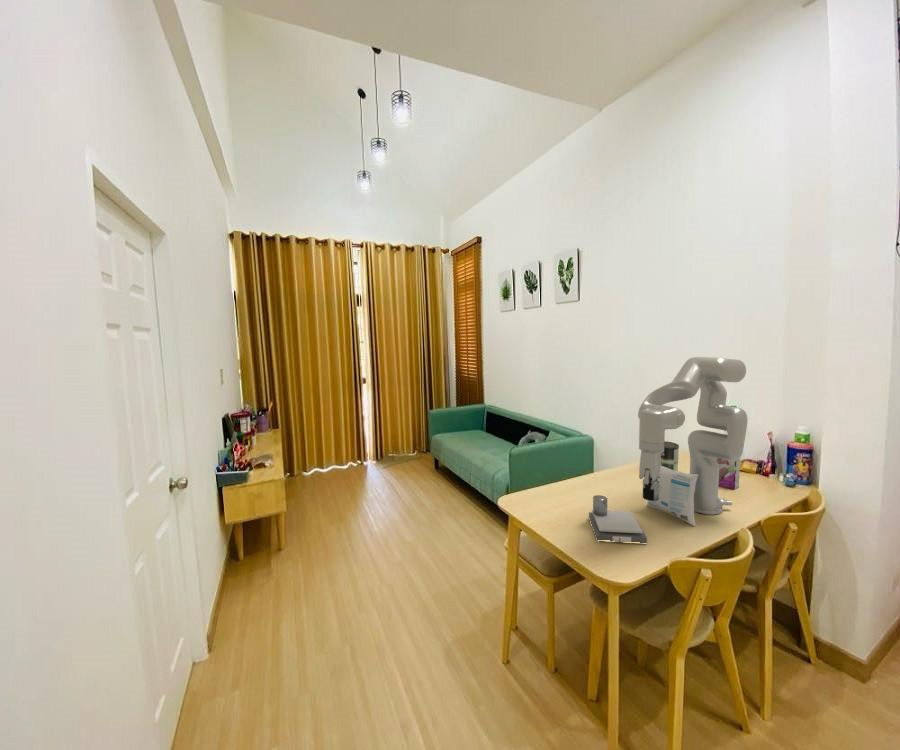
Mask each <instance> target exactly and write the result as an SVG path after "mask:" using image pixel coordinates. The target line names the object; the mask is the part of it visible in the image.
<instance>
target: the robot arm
mask: <svg viewBox="0 0 900 750" xmlns="http://www.w3.org/2000/svg"><path fill="white" fill-rule="evenodd" d="M746 373H747V367H746V364H745V363H744V361H742V360H741V359H736V358H735V359H734V358H733V359H732V358H725V357H714V356H713V357H709V356H695V357H691V358H689V359H687V360H686V361H685V362H684V364H683V365H682V367H680V370H678V372H677V374H676V375H675V377H674V378H673V380H672V381H671V382H669V383H667V384H665V385H662V386H660V387H659V388H656V389H655V390H652V392H649V394H647V396H646V397H645V398H644V400H643V401H642V403H641V404H640V405H639V407H638V408H639V409H638V413H637V416H638V419H639V428H638V429H639V430H638V431H639V433H638V438H639V439H638V449H639V450H640V457H639V470H638V478H639V480H643V479H644V486H643V485H642V498H643V500H646V499H647V500H646V501H648V500H651V501H653V500H654V489H653V484H654V481H655V480H658V476H659V474H660V468H661V453H662V452H664V441H665V436H666V434H665V431H666V430H677V429H678V428H681V427H682V426H683V425H684V423H685V421H686V415H685V412H684V411H683V410H682V409H680V408H678V407H675V406H667V405H665V404H669V403H672V402H677V401H683V400H688V399H691V398H693V397H695V396H696V395H697V393H698V392H699V390H700V394H699V401H698V408H697V413H696V422H697V424H698V425H700V426H702V427H705V428H709V429H713V430H714V429H715V430H722V431H726V433H727V434H725V433H720V432H716V431H709V430H704V429H697V430H692V431H691V432H690V433H689V435H688V437H687V445H688V446H687V447H688V451H689V474H698V477H697V480H696V484H695V492H694V513H699V514H702V515H709V516H711V515H712V516H715V515H719V514H722V513H723V506H732V505H733V502H732V500H729V499H725V498H724V497H719V487H720V486H719V465H718V463H717V461H716V459H715V458H719V459H723V460H728V461H737V460H739V459H740V460H741V457H742V454H743V451H744V447H745V443H746V442H745V440H746V435H747V429H748V419H749V418H748V414H747V412H746V411H745V410H744V409H743V408H741V407H738V406H732V405H726V404H727V397H728V392H727V389H726V388H725V386H724V385H723V383H722V382H724V383H739V382H741V381H742V380H744V378H745V376H746V375H747V374H746ZM714 457H715V458H714ZM649 478H651V479H652V480H650V479H649ZM649 482H651V484H650V483H649Z"/></svg>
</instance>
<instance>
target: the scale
mask: <svg viewBox="0 0 900 750" xmlns="http://www.w3.org/2000/svg"><path fill="white" fill-rule="evenodd" d="M589 518H590V520H589V522H590V521H591V523H590V525H591V524H592V526H591V528H592V527H593V529H594V531H593V533H594V532H595V534H594V536H595V535H596V537H595V538H597V540H610V541H615V542H640V543H647V544H648V537H647V535H646V533H645V532H644V530H643V529H642V527H641V525H640V524H639V521H638V520H637V518H636V517H635V515H634V513H633V512H632V511H629V510H608V509H607V516H603V517H602V516H597V515H595V514H594V513H593V509H592V510H591V511H589V512H588V519H589ZM593 529H592V530H593ZM597 540H596V541H597Z"/></svg>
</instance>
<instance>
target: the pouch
mask: <svg viewBox="0 0 900 750" xmlns="http://www.w3.org/2000/svg"><path fill="white" fill-rule="evenodd" d="M697 477H698V474H690V473H686V472H682V471H679V470H678V471H674V470H671V469H669V468H666V467H664V466H661V468H660V474H659V476H658V481H659V500H658V501H649V500H647V503H646V507H651V508H655V509H658V510H661V511H664V512H666V513H669V514H671V515H673V516H675V517H677V518H678V519H681V520H683V521H685V522H687V523H688V524H690V525H691V526H693V527H694V528H696V520H695V511H694V492H695V484H696V480H697Z"/></svg>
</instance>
